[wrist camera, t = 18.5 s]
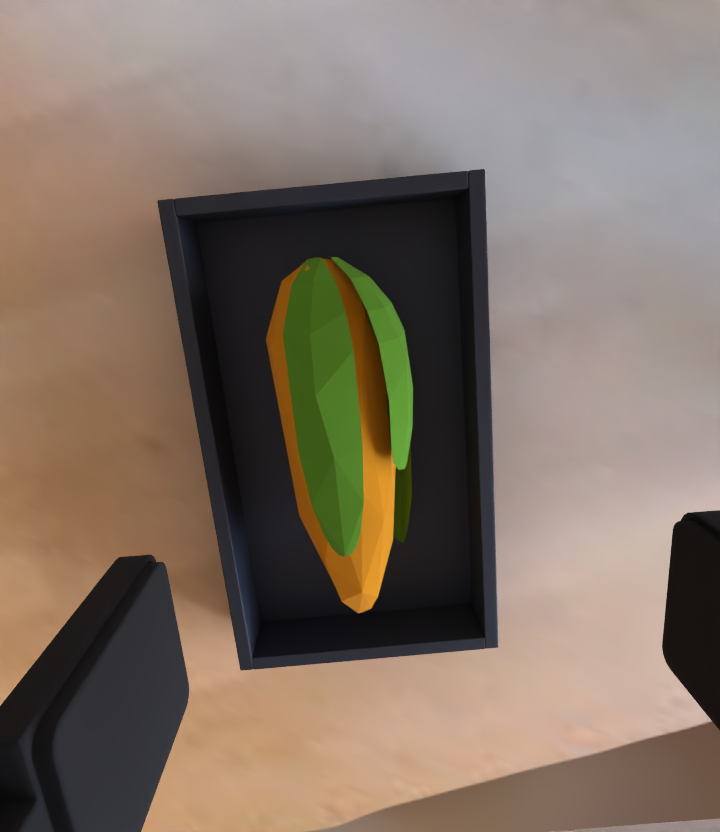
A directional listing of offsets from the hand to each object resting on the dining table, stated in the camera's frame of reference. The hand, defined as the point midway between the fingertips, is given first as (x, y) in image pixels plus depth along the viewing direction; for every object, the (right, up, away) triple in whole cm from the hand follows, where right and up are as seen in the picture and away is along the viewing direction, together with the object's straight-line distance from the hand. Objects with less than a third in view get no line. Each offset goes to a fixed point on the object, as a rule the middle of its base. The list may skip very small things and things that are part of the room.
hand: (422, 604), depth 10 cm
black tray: (-2, +3, +23) cm, 23 cm away
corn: (-2, +3, +22) cm, 23 cm away
